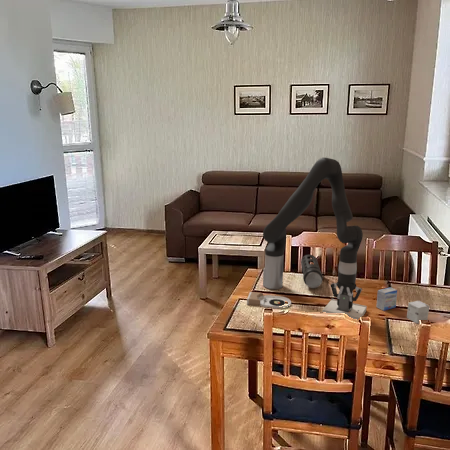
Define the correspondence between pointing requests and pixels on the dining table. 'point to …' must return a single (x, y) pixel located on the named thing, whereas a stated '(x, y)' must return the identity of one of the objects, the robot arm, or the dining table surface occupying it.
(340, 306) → the charger
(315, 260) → the muzzle brake
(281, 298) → the record player
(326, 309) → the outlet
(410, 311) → the skincare box
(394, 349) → the dining table surface
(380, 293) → the medicine box
